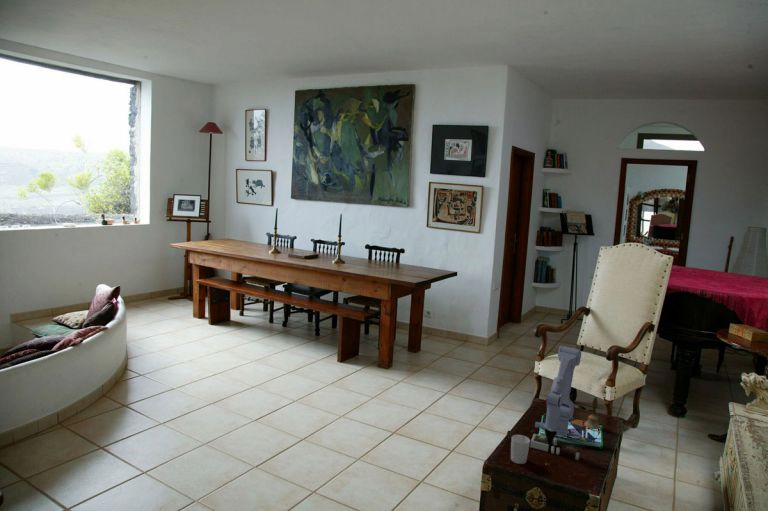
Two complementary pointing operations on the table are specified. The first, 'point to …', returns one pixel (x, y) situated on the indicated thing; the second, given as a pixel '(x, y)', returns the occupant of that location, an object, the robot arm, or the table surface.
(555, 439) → the clip
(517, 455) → the white cup
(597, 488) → the table surface
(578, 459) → the clip
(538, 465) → the table surface
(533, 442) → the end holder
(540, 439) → the connector block
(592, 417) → the hand bell
